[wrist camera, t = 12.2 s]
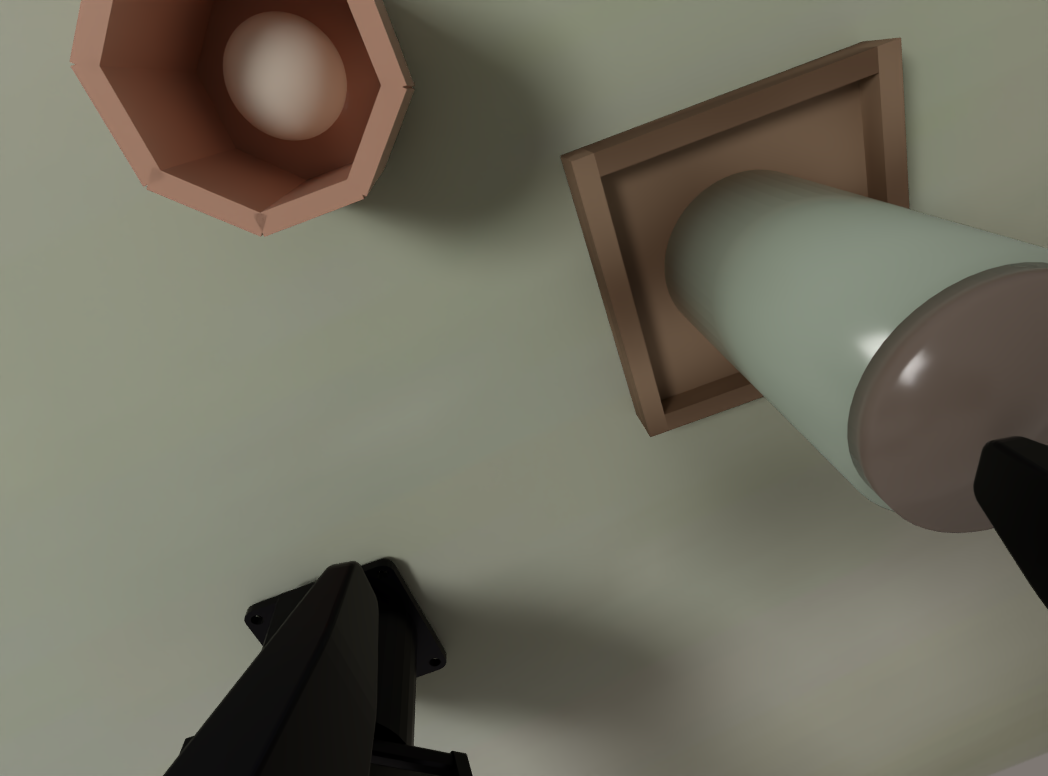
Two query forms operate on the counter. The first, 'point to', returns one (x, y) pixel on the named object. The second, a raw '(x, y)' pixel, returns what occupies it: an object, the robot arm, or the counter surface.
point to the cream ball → (284, 75)
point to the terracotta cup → (216, 124)
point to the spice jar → (871, 331)
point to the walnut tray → (695, 164)
